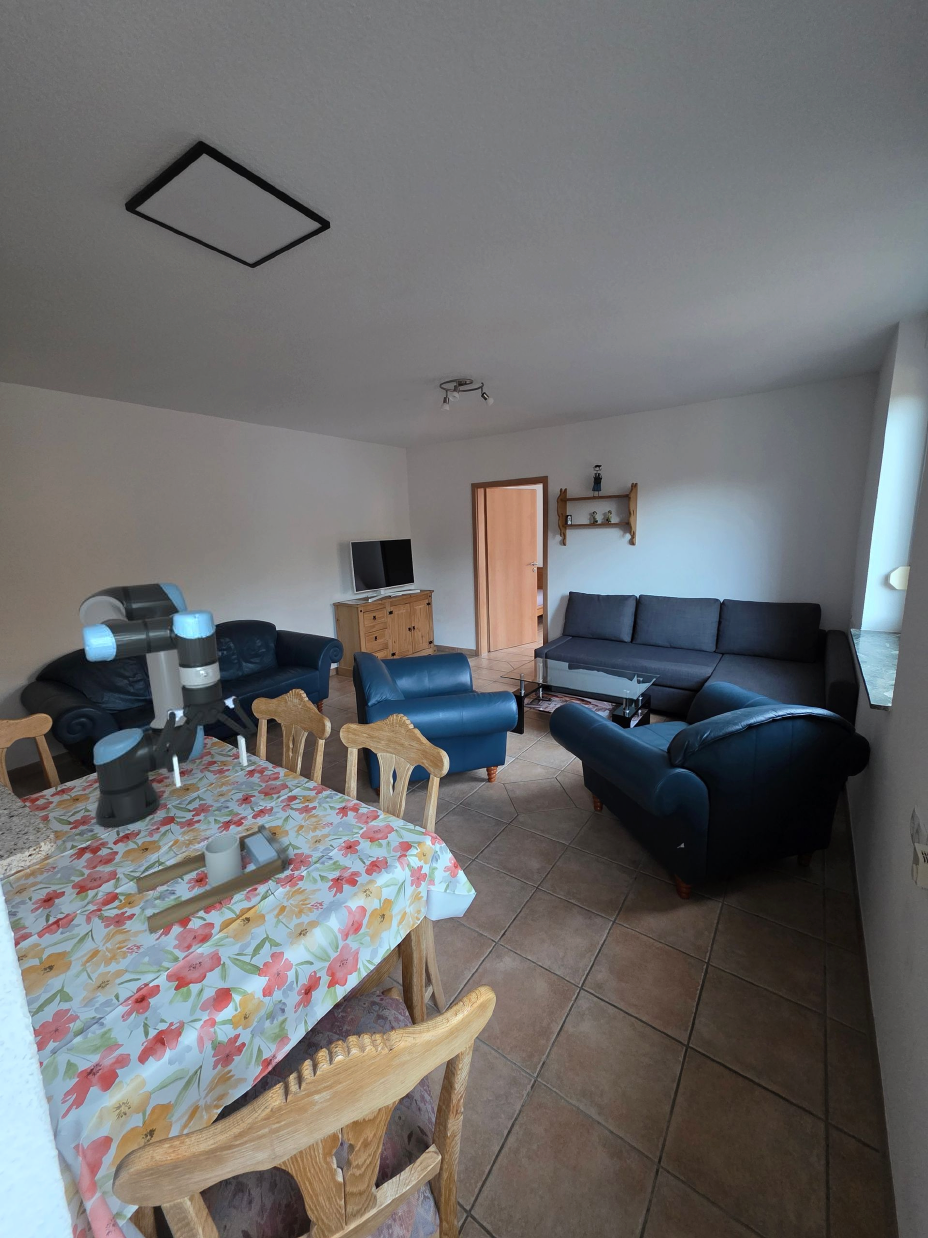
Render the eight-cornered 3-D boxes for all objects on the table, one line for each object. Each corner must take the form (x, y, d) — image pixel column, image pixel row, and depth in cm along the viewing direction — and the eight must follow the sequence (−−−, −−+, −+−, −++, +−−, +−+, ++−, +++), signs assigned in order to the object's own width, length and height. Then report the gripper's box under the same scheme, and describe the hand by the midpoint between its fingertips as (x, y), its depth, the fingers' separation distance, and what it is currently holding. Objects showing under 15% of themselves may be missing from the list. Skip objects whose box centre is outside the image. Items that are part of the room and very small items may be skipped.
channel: (137, 891, 109) (135, 875, 108) (264, 838, 127) (263, 824, 126) (150, 934, 97) (147, 917, 96) (288, 869, 115) (287, 854, 114)
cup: (209, 894, 107) (204, 858, 106) (206, 868, 116) (202, 834, 114) (244, 882, 111) (240, 847, 109) (239, 857, 119) (236, 824, 118)
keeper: (244, 839, 120) (260, 833, 123) (245, 854, 121) (262, 847, 124) (259, 861, 112) (277, 853, 115) (261, 877, 113) (278, 869, 115)
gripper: (134, 701, 94) (149, 801, 98) (266, 674, 110) (274, 761, 114) (129, 691, 99) (143, 786, 103) (255, 667, 115) (263, 750, 119)
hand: (211, 773), depth 108 cm, fingers open, 13 cm apart
